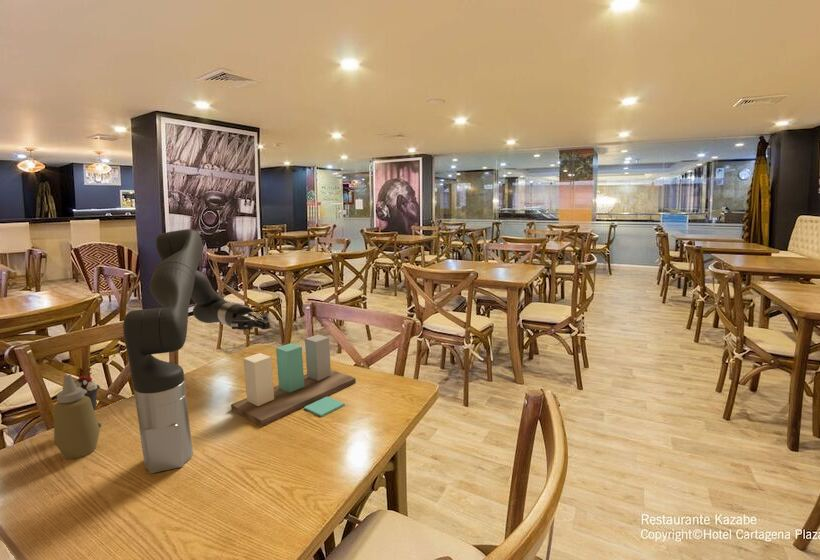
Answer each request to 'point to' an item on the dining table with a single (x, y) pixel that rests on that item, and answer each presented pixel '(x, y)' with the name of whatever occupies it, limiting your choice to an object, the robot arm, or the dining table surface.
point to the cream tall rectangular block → (258, 379)
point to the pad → (324, 406)
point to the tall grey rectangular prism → (317, 357)
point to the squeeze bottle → (74, 421)
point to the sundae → (88, 389)
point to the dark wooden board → (292, 398)
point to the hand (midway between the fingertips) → (267, 325)
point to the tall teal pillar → (290, 367)
